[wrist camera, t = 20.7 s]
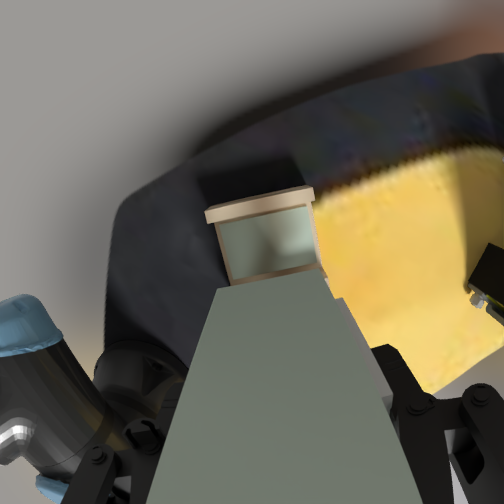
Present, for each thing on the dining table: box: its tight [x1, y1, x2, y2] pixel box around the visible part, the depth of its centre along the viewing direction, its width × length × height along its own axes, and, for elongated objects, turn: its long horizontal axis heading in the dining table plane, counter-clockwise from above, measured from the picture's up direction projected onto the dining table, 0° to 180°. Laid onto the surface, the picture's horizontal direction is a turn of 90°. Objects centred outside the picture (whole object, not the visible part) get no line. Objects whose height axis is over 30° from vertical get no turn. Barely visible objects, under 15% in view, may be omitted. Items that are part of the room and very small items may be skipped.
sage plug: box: [146, 268, 423, 504], centre depth 9 cm, size 5×5×12 cm
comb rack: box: [204, 185, 330, 289], centre depth 30 cm, size 10×19×4 cm, turn 13°
